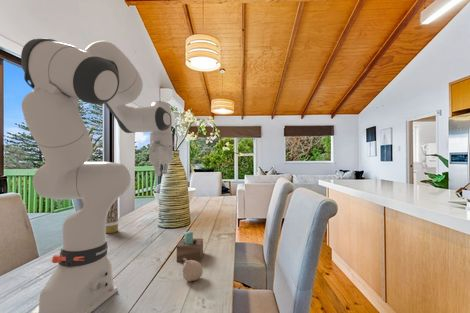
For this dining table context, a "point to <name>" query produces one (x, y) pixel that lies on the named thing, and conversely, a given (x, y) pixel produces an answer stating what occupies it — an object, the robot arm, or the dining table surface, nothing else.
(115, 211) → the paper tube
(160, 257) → the dining table surface
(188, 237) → the peg
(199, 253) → the socket block
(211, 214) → the dining table surface
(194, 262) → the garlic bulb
